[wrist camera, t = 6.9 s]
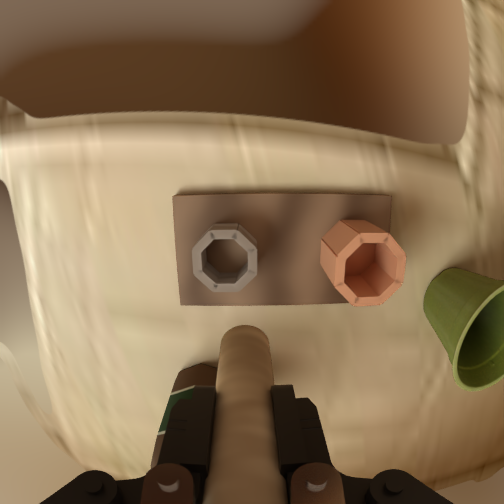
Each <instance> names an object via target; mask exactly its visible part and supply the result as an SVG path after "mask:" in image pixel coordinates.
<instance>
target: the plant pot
mask: <svg viewBox="0 0 504 504" xmlns="http://www.w3.org/2000/svg"><path fill="white" fill-rule="evenodd" d="M424 312H425V314H426V317H427V319H428V320H429V322H430V324H431V325H432V327H433V329H434V330H435V332H436V334H437V335H438V337H439V339H440V340H441V342H442V344H443V346H444V348H445V349H446V351H447V353H448V356H449V360H450V362H451V364H452V371H453V377H454V380H455V382H456V383H457V385H458V386H459V387H460V388H462V389H463V390H466V391H480V390H483V389H485V388H488V387H490V386H492V385H494V384H495V383H497V382H498V381H500V380H501V379H502V378H504V280H495V279H492V278H489V277H485V276H482V275H479V274H476V273H472V272H469V271H465V270H462V269H459V268H450V269H446V270H444V271H443V272H442V273H441V274H440V275H439V276H437V277H436V278H435V279H434V280H432V282H431V283H430V285H429V287H428V289H427V291H426V293H425V297H424Z"/></svg>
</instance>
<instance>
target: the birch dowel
mask: <svg viewBox="0 0 504 504" xmlns="http://www.w3.org/2000/svg"><path fill="white" fill-rule="evenodd" d="M272 385H274V378H273V370H272V362H271V354H270V346H269V340H268V338H267V336H266V335H265V333H264V332H263V331H261V330H260V329H258V328H256V327H254V326H249V325H241V326H236V327H234V328H232V329H230V330H229V331H227V332H226V333H225V335H224V336H223V338H222V341H221V347H220V355H219V363H218V371H217V379H216V391H217V394H216V403H215V413H214V422H213V432H212V441H211V451H210V461H209V472H208V477H207V478H206V480H205V486H204V496H203V504H289V503H288V495H287V486H286V480H285V478H284V477H283V476H282V475H281V474H280V468H279V459H278V450H277V440H276V431H275V422H274V413H273V404H272V395H271V386H272Z"/></svg>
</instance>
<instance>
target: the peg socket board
mask: <svg viewBox="0 0 504 504" xmlns="http://www.w3.org/2000/svg"><path fill="white" fill-rule="evenodd" d="M172 197H173V216H174V233H175V247H176V260H177V272H178V283H179V294H180V304H181V305H203V306H250V305H303V304H333V303H349V302H348V301H347V300H346V298H345V297H344V296H343V295H342V294H341V293H340V292H339V291H338V290H337V289H336V288H335V287H334V286H333V284H332V282H331V281H330V279H329V277H328V276H327V274H326V273H325V271H324V269H323V268H322V266H321V264H320V254H321V239H322V237H323V236H324V235H325V234H326V233H327V232H328V231H329V230H330V229H331V228H332V227H333V226H334V225H335V224H336V223H337V222H338V221H339V220H340V221H341V220H366V221H368V222H370V223H371V224H373V225H375V226H377V227H379V228H380V229H382V230H384V231H386V232H388V233H390V219H391V201H392V196H389V195H374V194H342V193H225V194H192V195H174V196H172Z"/></svg>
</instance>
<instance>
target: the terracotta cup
mask: <svg viewBox="0 0 504 504" xmlns="http://www.w3.org/2000/svg"><path fill="white" fill-rule="evenodd" d="M320 264H321V266H322V268H323V269H324V271H325V273H326V274H327V276H328V277H329V279H330V281H331V282H332V284H333V286H334V287H335V288H336V289H337V290H338V291H339V292H340V293H341V294H342V295H343V296H344V297H345V298H346V300H347V301H348V302H349V303H350V304H351V305H352V306H353V305H354V306H371V305H380V304H383V303H384V302H385V301H386V300H387V299H388V298H389V297H390V296H391V295H392V294H393V293H394V292H395V291H396V290H397V289H398V288H399V287H400V286H401V285H402V284H401V283H403V279H404V272H405V264H406V253H405V252H404V251H403V250H402V248H401V247H400V246H399V245H398V243H397V242H396V241H395V240H394V238H393V237H392V236H391V235H390V234H389V233H388V232H386V231H384V230H382V229H380V228H379V227H377V226H375V225H373V224H371V223H370V222H368V221H366V220H341V221H340V220H339V221H338V222H337V223H336V224H335V225H334V226H333V227H332V228H331V229H330V230H329V231H328V232H327V233H326V234H325V235H324V236H323V237H322V239H321V254H320Z"/></svg>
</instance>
